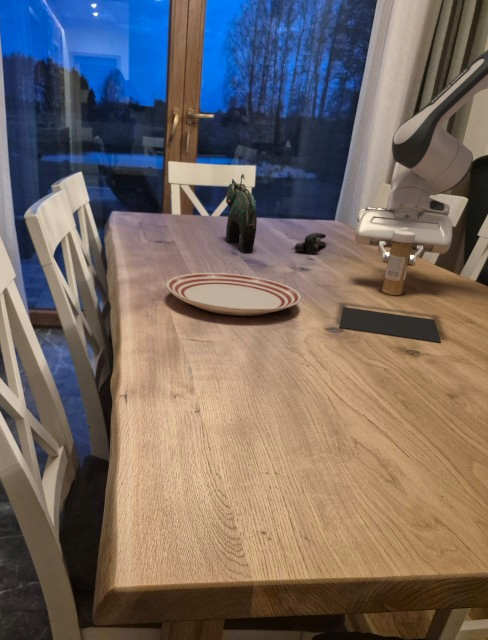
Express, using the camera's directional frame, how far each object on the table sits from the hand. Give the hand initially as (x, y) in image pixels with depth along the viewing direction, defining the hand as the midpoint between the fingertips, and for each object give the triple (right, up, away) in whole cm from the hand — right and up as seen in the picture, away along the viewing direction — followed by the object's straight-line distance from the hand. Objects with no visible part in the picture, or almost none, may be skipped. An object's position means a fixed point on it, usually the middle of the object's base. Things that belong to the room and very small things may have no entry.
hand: (398, 263), depth 126 cm
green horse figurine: (-31, +15, +45) cm, 56 cm away
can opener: (-8, +15, +47) cm, 50 cm away
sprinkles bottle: (0, -6, +4) cm, 7 cm away
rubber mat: (-7, -15, -15) cm, 22 cm away
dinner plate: (-37, -10, -8) cm, 39 cm away
